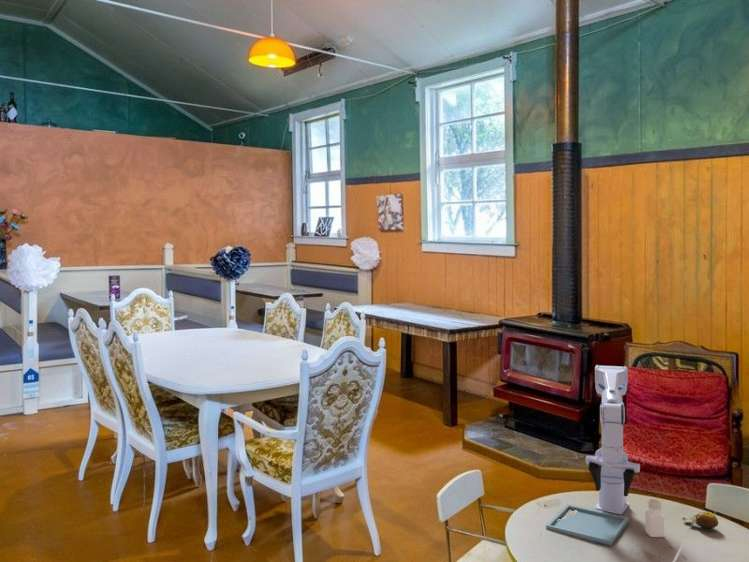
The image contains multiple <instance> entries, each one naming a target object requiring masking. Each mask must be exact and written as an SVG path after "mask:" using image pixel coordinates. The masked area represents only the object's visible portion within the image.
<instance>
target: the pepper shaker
mask: <svg viewBox="0 0 749 562" xmlns="http://www.w3.org/2000/svg"><path fill="white" fill-rule="evenodd" d="M661 511H662V501H660V500H658V499H655V498H652V499H648V510H645V514H644V515H645V524H644V525H645V528H644V529H645V533H646V534H647V535H648V536H649V537H651V538H664V537H665V515H664V514H663V513H662V512H661Z"/></svg>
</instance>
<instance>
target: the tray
mask: <svg viewBox="0 0 749 562" xmlns="http://www.w3.org/2000/svg"><path fill="white" fill-rule="evenodd" d="M572 509H573V510H577V511H578V512H577V513H576V514H575V515H569V516H568V517H567V519H566V518H565V519H561V520H558V519H559V518H561V517H563V516H564V515H565V514H566V512H567V511H568V510H572ZM557 520H558V521H559V522H558V521H557ZM628 524H629V517H626V516H623V515H622V516H621V515H618V514H614V513H613V514H612V513H609V512H605V511H604V512H603V511H599V510H596V509H595V510H594V509H590V508H586V507H585V508H584V507H582V506H581V507H580V506H577V505H576V506H575V505H571V504H566V505H565V506H564V507H563V508H562V509H561V510H560V511H559V512H558V513H557V514H556V515H555V516H554V517H552V519H551V520H550V521H549V522H548V523H546V524H545V529H546V530H549V529H550V530H549V531H554V532H557V533H560V534H563V535H567V536H571V537H574V538H577V539H581V540H585V541H588V542H591V543H593V544H594V543H595V544H597V545H598V544H599V545H603V546H606V547H612V546H613V545H614V543H615V542H617V540H618V538H619V537H620V535H622V533H623V532H624V530H625V528H626V527H627V526H628Z"/></svg>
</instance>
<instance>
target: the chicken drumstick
mask: <svg viewBox="0 0 749 562" xmlns="http://www.w3.org/2000/svg"><path fill="white" fill-rule="evenodd" d="M682 520H683V522H686V523H692V522H695V523H697V524H698V525H699V527H701V528H703V529H706V530H712V529H714V528H716V527H717V526H718V525H719V520H718V518H717V516H716V515H715V514H714V513H712V512H711V511H700V512H698V513H696V514H695V515H693V516H690V517H688V518H686V517H682Z"/></svg>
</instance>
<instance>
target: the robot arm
mask: <svg viewBox="0 0 749 562" xmlns="http://www.w3.org/2000/svg"><path fill="white" fill-rule="evenodd" d="M628 372H629V370H628V367H627V366H625V365H624V366H617V365H599V364H596V365H595V367H594V383H595V385H594V386H595V391H596V393H597V394H599V395H601V404H600V405H599V420H600V428H601V447H600V448H599V449H597V450H596V451H595V453H594V455H586V456H585V464H586V465H588V467H587V469H588V470H589V473H590V475H591V476H592V479H593V481H594V485H595V491H596V492H598V503H597V504H596V505H594V506H595V507H594V509H595V510H597V511H599V510H600V511H601V512H603V511H604V512H606V513H610V514H612V513H613V514H615V515H622V514H624V512H625V511H626V510H627V508H628V507H629V506H630V503H629V502H627V497H628V496H629V494H630V492H629V491H630V487H631V485H632V481H633V479H634V477H635V476H636V473H640V470H641V464H640V463H635V462H631V461H629V455H628V453H627V452H625V450H624V424H625V422H626V420H625V419H626V417H625V416H626V413H625V412H626V410H625V409H626V408H625V403H624V402H623V396H625V395H627V391H628V381H629V377H628V376H629V373H628Z"/></svg>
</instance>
